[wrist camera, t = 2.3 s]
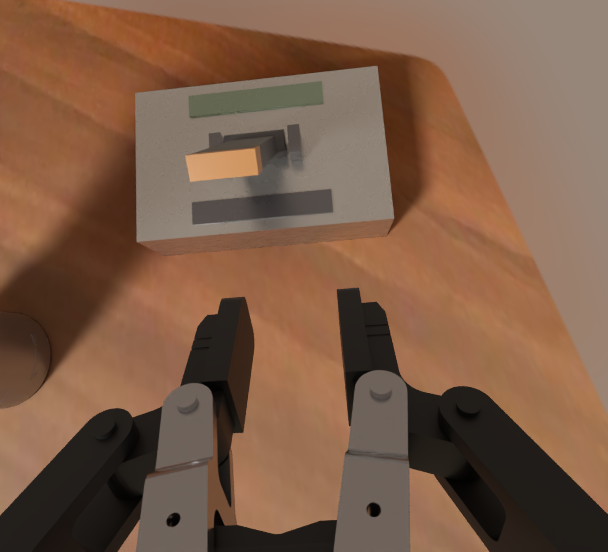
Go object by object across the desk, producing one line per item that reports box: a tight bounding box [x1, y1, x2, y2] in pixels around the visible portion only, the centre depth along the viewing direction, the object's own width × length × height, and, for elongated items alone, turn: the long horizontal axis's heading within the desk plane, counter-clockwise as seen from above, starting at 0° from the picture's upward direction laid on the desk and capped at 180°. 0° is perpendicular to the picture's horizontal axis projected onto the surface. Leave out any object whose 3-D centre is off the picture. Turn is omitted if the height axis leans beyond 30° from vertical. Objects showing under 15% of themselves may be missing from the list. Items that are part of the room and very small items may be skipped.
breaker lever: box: [185, 129, 287, 182], centre depth 31 cm, size 5×2×15 cm, turn 94°
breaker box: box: [135, 66, 394, 256], centre depth 40 cm, size 22×14×8 cm, turn 94°
